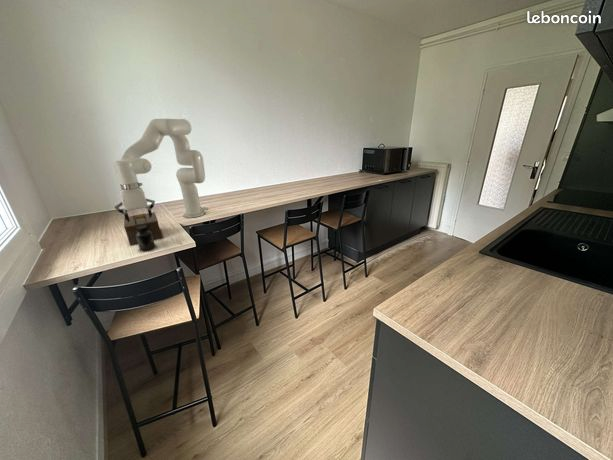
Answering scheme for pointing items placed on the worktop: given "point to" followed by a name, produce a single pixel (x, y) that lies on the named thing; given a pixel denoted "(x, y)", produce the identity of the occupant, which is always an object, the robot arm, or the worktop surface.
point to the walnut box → (152, 227)
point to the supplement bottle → (144, 238)
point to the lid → (140, 220)
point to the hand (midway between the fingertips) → (139, 219)
